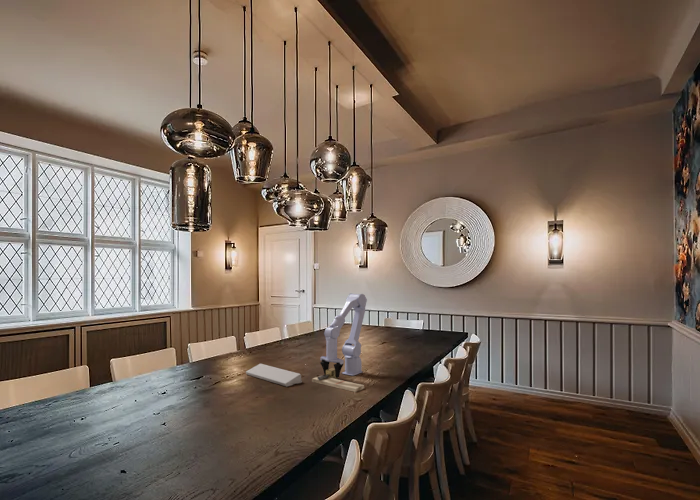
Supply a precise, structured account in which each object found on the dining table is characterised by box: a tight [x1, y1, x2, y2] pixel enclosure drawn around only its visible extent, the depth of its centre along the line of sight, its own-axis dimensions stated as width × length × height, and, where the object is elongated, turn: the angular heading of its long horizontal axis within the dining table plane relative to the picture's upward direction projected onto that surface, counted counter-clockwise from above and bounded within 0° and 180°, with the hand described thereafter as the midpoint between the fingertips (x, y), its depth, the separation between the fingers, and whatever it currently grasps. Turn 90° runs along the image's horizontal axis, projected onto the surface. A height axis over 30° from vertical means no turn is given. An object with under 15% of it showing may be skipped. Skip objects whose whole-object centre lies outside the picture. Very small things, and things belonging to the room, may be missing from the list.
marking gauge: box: [317, 367, 339, 380], centre depth 195 cm, size 12×4×5 cm, turn 142°
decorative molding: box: [245, 363, 303, 387], centre depth 199 cm, size 34×5×10 cm
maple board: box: [311, 375, 365, 393], centre depth 187 cm, size 7×28×2 cm, turn 52°
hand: (331, 376), depth 197 cm, fingers open, 7 cm apart
